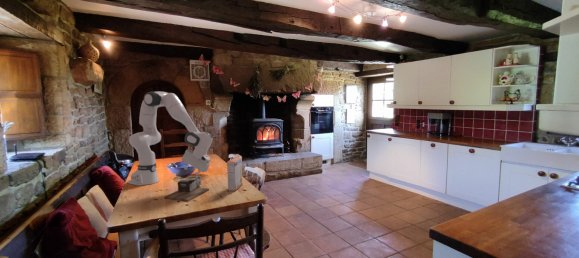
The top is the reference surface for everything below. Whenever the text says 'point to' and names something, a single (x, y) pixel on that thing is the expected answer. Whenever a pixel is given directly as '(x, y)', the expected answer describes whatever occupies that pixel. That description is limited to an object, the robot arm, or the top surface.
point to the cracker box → (234, 174)
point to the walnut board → (187, 194)
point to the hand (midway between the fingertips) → (190, 172)
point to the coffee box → (189, 183)
